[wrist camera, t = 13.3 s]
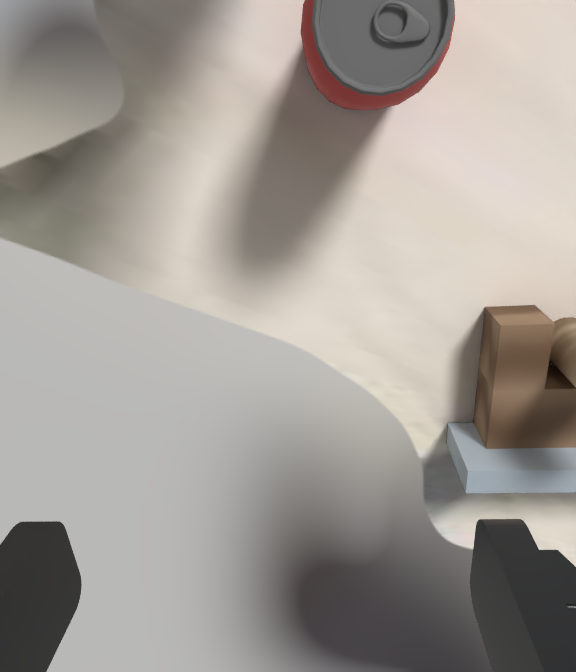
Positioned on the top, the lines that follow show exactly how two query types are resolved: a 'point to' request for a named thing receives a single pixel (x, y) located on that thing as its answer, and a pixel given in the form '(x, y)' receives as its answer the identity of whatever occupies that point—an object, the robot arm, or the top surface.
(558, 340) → the dowel
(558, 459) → the wall
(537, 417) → the block
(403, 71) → the beer can
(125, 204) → the top surface
